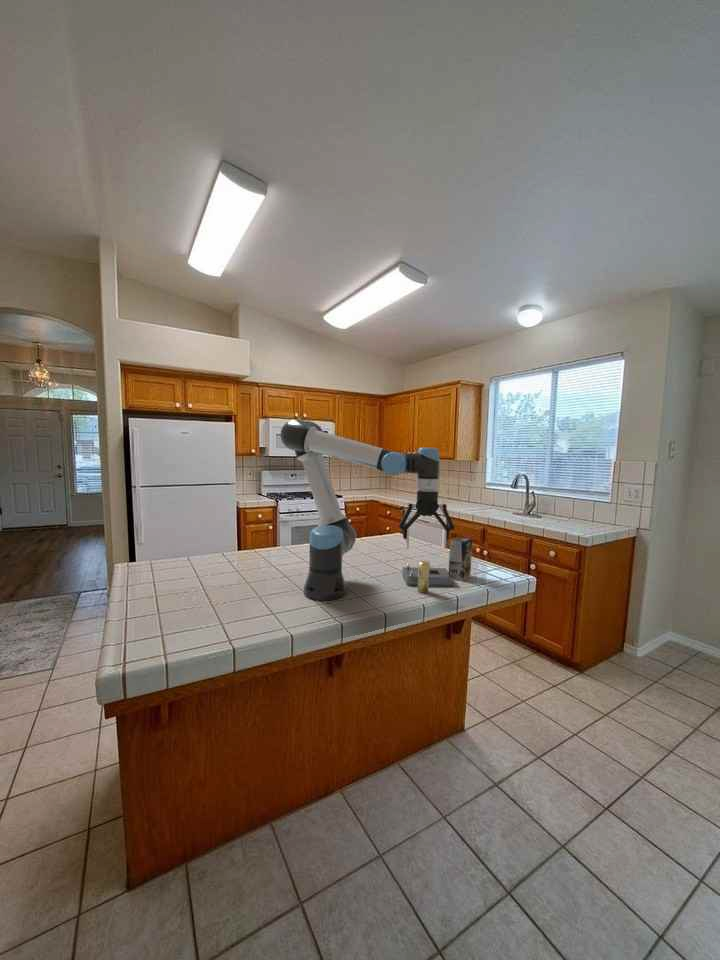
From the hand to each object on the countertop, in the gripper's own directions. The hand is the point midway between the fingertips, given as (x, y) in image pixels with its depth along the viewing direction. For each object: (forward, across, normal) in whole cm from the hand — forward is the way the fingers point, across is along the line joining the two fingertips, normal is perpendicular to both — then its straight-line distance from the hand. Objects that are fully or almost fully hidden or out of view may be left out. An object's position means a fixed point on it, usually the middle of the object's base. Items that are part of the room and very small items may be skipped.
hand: (425, 548), depth 142 cm
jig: (+16, +4, +13) cm, 21 cm away
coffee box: (+17, +19, +18) cm, 31 cm away
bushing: (+16, 0, 0) cm, 16 cm away
